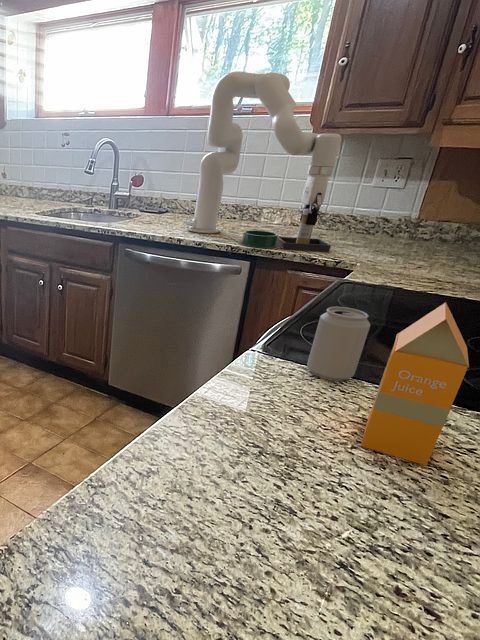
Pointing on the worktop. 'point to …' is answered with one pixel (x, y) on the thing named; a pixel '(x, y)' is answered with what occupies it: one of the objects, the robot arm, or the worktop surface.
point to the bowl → (259, 239)
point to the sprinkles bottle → (304, 229)
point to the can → (338, 343)
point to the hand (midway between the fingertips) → (307, 222)
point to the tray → (303, 245)
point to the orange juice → (418, 388)
